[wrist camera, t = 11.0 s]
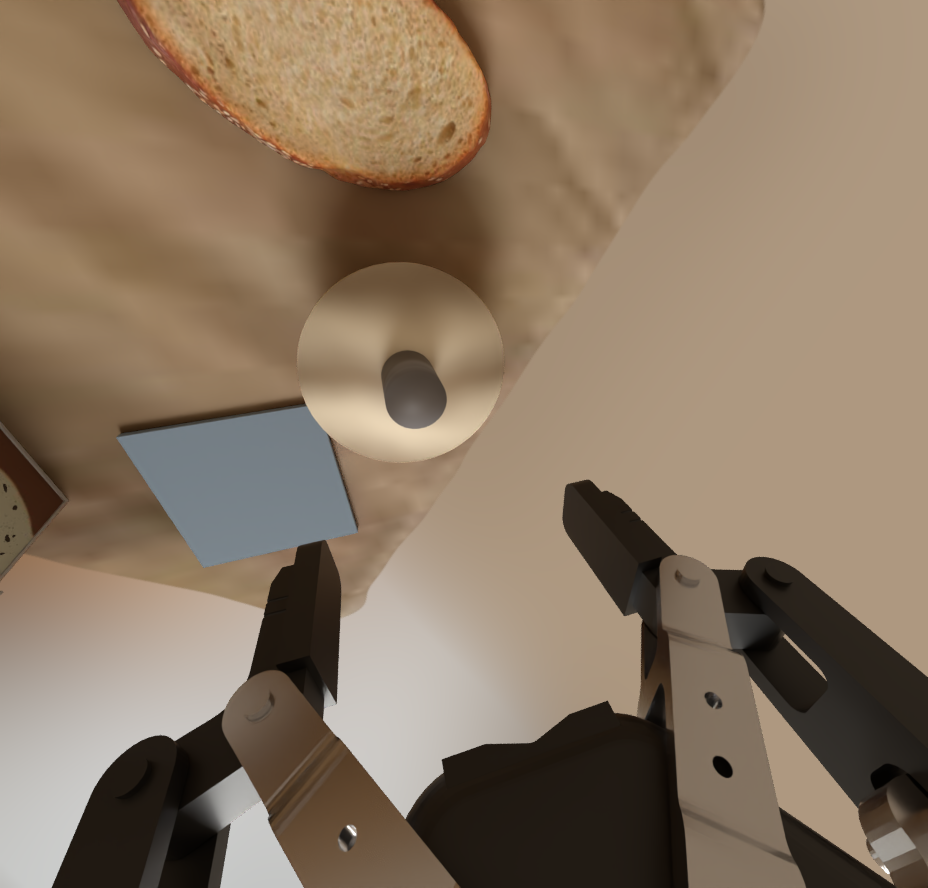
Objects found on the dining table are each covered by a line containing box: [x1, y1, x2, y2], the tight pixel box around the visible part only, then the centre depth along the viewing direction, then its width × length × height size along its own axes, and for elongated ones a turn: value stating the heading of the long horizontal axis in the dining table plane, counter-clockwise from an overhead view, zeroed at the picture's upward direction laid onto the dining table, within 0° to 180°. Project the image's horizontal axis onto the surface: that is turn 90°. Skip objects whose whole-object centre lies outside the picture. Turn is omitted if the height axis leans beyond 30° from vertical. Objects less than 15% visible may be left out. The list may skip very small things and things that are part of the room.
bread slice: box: [117, 0, 491, 190], centre depth 19 cm, size 18×18×4 cm
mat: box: [116, 404, 358, 568], centre depth 33 cm, size 15×15×1 cm
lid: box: [297, 262, 504, 463], centre depth 23 cm, size 14×14×5 cm
